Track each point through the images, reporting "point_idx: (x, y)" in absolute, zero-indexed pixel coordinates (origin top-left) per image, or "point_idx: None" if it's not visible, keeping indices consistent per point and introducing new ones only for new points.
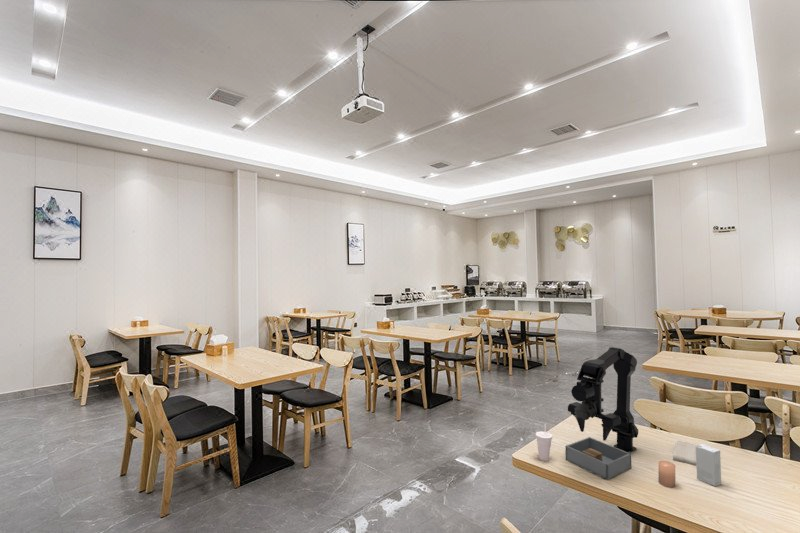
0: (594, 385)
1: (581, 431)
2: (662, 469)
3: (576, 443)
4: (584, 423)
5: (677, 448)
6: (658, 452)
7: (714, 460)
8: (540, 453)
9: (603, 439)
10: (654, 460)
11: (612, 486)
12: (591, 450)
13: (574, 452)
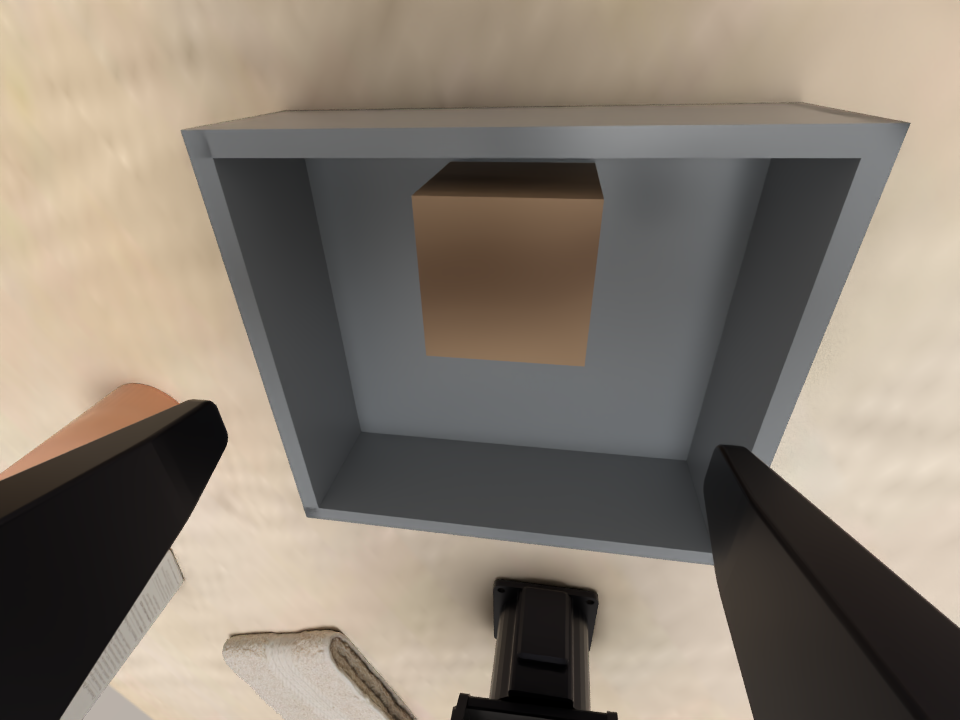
0: None
1: (731, 446)
2: (45, 454)
3: (784, 352)
4: (753, 702)
5: (358, 704)
6: (418, 651)
7: None
8: None
9: (187, 410)
10: (370, 583)
11: (184, 40)
12: (536, 320)
13: (701, 121)
